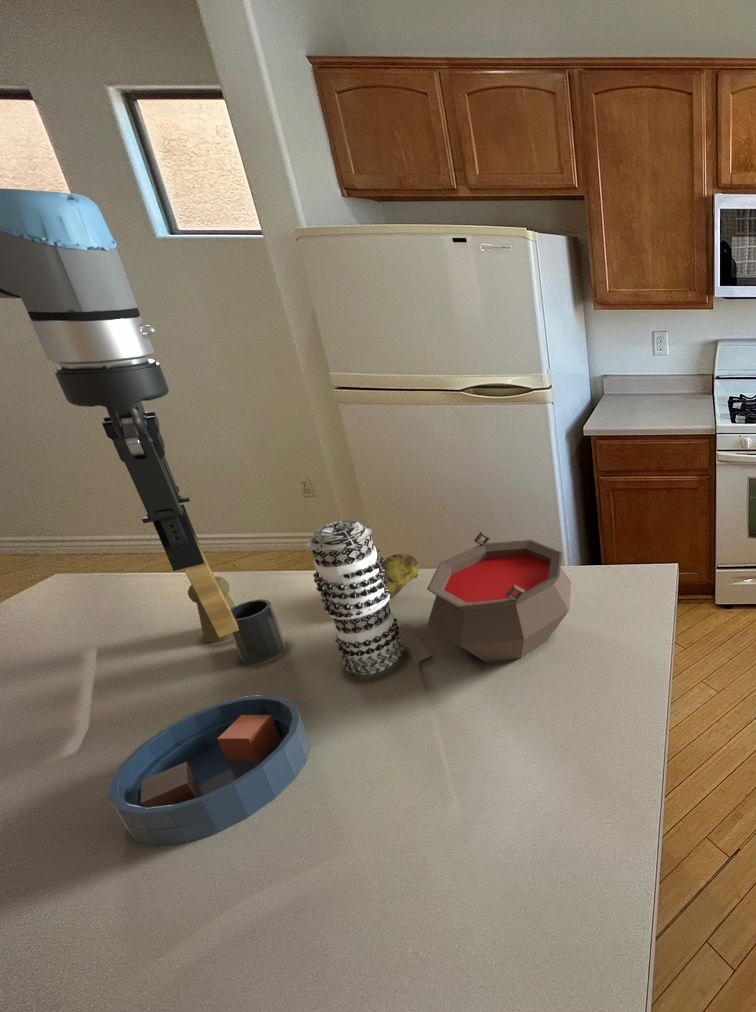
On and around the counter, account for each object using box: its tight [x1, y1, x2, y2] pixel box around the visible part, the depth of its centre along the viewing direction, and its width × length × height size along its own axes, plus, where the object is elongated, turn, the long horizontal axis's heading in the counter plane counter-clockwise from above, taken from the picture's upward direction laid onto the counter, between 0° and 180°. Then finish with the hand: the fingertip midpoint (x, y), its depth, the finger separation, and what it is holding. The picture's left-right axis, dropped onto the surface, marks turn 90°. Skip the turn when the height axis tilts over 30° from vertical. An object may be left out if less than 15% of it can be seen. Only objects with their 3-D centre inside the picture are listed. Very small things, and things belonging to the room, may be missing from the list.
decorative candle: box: [306, 520, 405, 676], centre depth 86 cm, size 9×9×25 cm
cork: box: [187, 576, 236, 644], centre depth 95 cm, size 6×6×11 cm
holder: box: [230, 599, 286, 665], centre depth 91 cm, size 6×6×9 cm
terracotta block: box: [217, 715, 280, 761], centre depth 73 cm, size 4×4×4 cm
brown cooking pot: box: [426, 530, 572, 663], centre depth 95 cm, size 24×24×16 cm
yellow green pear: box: [381, 553, 419, 601], centre depth 106 cm, size 8×13×8 cm, turn 139°
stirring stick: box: [183, 536, 239, 637], centre depth 66 cm, size 2×2×20 cm
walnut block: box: [140, 762, 199, 808], centre depth 65 cm, size 4×4×4 cm
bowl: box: [108, 694, 311, 847], centre depth 69 cm, size 18×18×6 cm
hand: (188, 561), depth 66 cm, fingers closed on stirring stick, 2 cm apart
